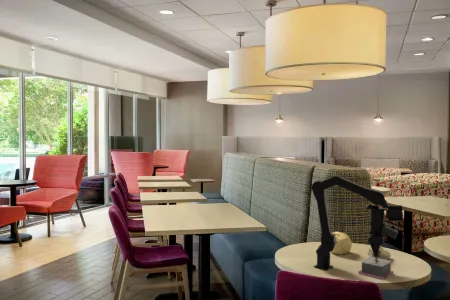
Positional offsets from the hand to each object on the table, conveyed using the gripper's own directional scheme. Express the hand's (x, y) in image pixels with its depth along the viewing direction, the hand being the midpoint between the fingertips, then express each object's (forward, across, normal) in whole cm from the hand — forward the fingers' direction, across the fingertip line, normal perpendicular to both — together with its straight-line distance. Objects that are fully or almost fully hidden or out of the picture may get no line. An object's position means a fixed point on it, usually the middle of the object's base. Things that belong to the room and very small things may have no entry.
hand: (376, 255), depth 183 cm
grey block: (+8, 0, 0) cm, 8 cm away
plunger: (+5, 0, 0) cm, 5 cm away
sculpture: (+8, +27, +19) cm, 34 cm away
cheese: (+8, +20, 0) cm, 22 cm away
